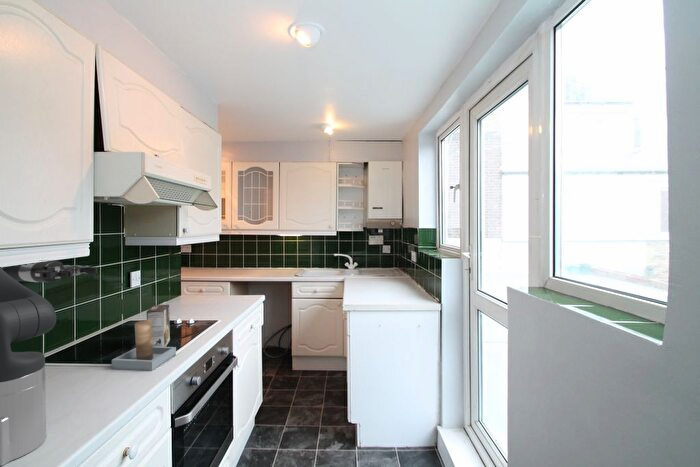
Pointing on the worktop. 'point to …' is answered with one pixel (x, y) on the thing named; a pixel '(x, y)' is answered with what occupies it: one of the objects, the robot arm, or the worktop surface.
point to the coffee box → (159, 324)
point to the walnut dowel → (144, 340)
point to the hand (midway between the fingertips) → (84, 272)
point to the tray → (131, 362)
